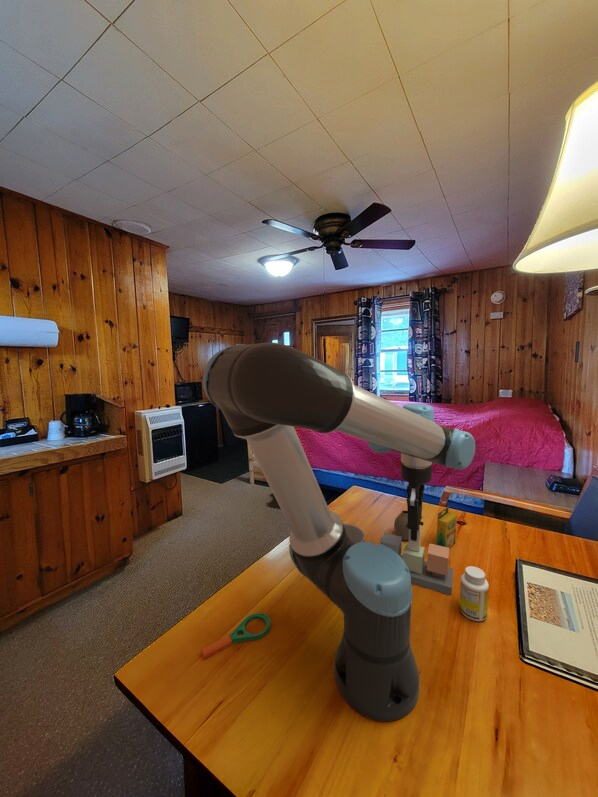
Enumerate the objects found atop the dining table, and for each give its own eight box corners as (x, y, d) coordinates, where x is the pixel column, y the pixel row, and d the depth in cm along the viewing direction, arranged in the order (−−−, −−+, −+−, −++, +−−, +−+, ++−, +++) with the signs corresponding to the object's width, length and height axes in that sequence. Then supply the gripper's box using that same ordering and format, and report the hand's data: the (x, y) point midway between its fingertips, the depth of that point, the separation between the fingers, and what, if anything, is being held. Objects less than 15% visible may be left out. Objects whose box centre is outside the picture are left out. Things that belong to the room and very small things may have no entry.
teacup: (362, 547, 99) (362, 523, 98) (366, 571, 88) (366, 544, 87) (317, 546, 100) (317, 522, 99) (315, 569, 90) (315, 542, 88)
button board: (451, 595, 79) (452, 574, 78) (374, 572, 88) (374, 553, 87) (452, 575, 86) (453, 556, 85) (381, 556, 95) (381, 538, 94)
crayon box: (445, 554, 95) (446, 517, 93) (435, 549, 97) (436, 513, 95) (455, 544, 100) (457, 508, 98) (446, 540, 102) (447, 505, 100)
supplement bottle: (478, 603, 76) (480, 563, 75) (492, 622, 71) (495, 580, 69) (454, 603, 76) (456, 563, 75) (466, 623, 71) (469, 580, 69)
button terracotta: (447, 575, 80) (448, 558, 80) (426, 570, 82) (427, 553, 82) (448, 564, 84) (449, 548, 84) (428, 559, 87) (429, 543, 86)
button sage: (421, 574, 83) (422, 557, 83) (402, 568, 85) (402, 552, 85) (424, 563, 87) (424, 547, 87) (405, 558, 90) (406, 543, 89)
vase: (398, 529, 109) (398, 504, 107) (419, 535, 105) (419, 510, 103) (390, 539, 103) (391, 513, 102) (412, 546, 99) (413, 519, 98)
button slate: (398, 562, 86) (398, 546, 85) (380, 557, 88) (380, 541, 87) (401, 552, 90) (401, 536, 89) (384, 548, 92) (384, 532, 92)
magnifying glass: (262, 613, 75) (262, 606, 75) (275, 630, 70) (275, 624, 70) (198, 647, 67) (197, 640, 67) (207, 670, 62) (207, 663, 62)
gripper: (429, 475, 75) (426, 567, 78) (434, 458, 86) (431, 539, 90) (396, 470, 79) (394, 559, 82) (405, 455, 90) (403, 533, 93)
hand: (414, 549), depth 86 cm, fingers closed
